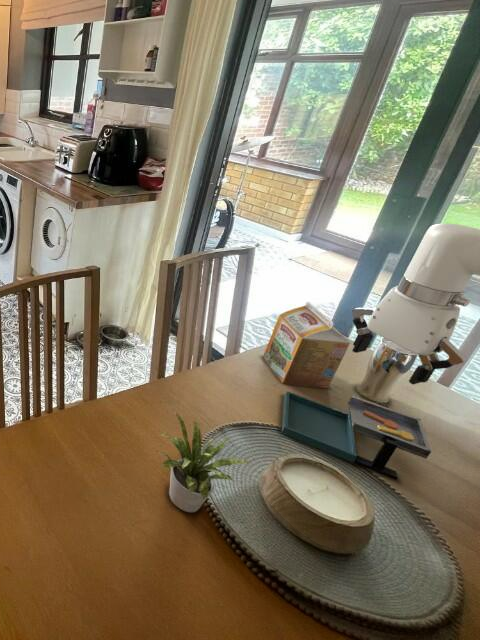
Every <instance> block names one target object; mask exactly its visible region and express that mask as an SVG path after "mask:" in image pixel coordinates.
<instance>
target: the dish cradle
mask: <svg viewBox="0 0 480 640" xmlns="http://www.w3.org/2000/svg"><path fill="white" fill-rule="evenodd" d="M377 404H378V405H381V406H384V407H386V408H389V405H387V404H386V403H379V402H377ZM389 409H390V408H389ZM382 443H383V442H382ZM397 447H398V444H397V442H394V441H391V440H389V439H386V440H385V442H384V443H383V444H382V445H381V447H380V448H379V450H378V451H377V453H376V455H375V456H374V458H373V460H370V459H367V458H365V457H362V456H360V455H357V457H356V459H355V463H356V465H358V466H361V467H362V468H365V469H368V470H371V471H372V472H375V473H377V474H380V475H382V476H385V477H387V478H389V479H392V480H395V481H397V480H398V478H399V476H398V472H397V470H395V469H392V468H390V467H387V466H386V465H387V464H388V462H389V460H390V459H391V457H392V456H393V454H394V453H395V451H396V450H397V449H398V448H397Z"/></svg>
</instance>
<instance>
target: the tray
mask: <svg viewBox="0 0 480 640" xmlns="http://www.w3.org/2000/svg"><path fill="white" fill-rule="evenodd" d="M282 407H283V409H282V423H281V435H282V434H283V435H285V436H287V437H290V438H292V439H295V440H297V441H299V442H302V443H303V444H306V445H309V446H312V447H314V448H316V449H318V450H321V451H324V452H326V453H329V454H331V455H333V456H336V457H338V458H340V459H343V460H345V461H348V462H350V463H352V464H353V463H355V462H356V457H357V456H358V455H357V447H356V440H355V431H352V428H351V420H350V412H346V411H343V410H340V409H338V408H335V407H332V406H330V405H326V404H324V403H321V402H318V401H316V400H313V399H310V398H308V397H305V396H302V395H299V394H296V393H294V392H291V391H288V390H286V392H285V394H284V396H283V405H282Z"/></svg>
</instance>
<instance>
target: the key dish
mask: <svg viewBox="0 0 480 640" xmlns="http://www.w3.org/2000/svg"><path fill="white" fill-rule="evenodd" d="M347 404H348V405H347V406H348V413H349V414H350V420H351V428H352V431H354V433H357V434H360V435H362V436H365V437H368V438H371V439H373V440H377V441H378V442H381V443H384V442H385V440H386V439H389V440H391V441H394V442H397V444H398V447H397V448H396V449H399V450H401V451H405V452H407V453H410V454H413V455H415V456H418V457H419V458H423V459H425V460H427V459H428V457H429V456H430V454H431V453H432V449H431V446H430V443H429V440H428V436H427V434H426V431H425V428H424V425H423V422H422V419H421V418H418V417H415V416H412V415H409V414H406V413H403V412H401V411H398V410H395V409H392V408H386V407H384V406H381V405H378V403H376V402H373V401H370V400H366V399H363V398H360V397H357V396H355V395H351V396H350V398H349V400H348V402H347ZM365 410H366V411H369V412H371V413H373V414H375V415H377V416H379V417H381V418H384V419H386V420H391V421H393V422H395V423H396V424H397V425H398V426H399V427H398V429H394V430H397V431H401V430H402V431H406V432H408V433H410V434H411V435H413V437H414V439H413V440H412V441H410V440H406V439H404V438H402V437H401V436H398V435H395V434H391V433H388V432H384V431H381V430H379V429H378V427H377V426H378V425H380V426H383V427H387V428H390V427H388V426H386V425H385V424H384V423H382V422H380V421H378V420H376V419H374V418H372V417H370V416H368V415H365V414H363V413H364V411H365ZM390 429H392V428H390Z"/></svg>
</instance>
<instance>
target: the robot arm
mask: <svg viewBox="0 0 480 640" xmlns="http://www.w3.org/2000/svg"><path fill="white" fill-rule="evenodd" d="M473 275H476V276H479V277H480V229H479V228H477V227H472V226H467V225H463V224H457V223H448V222H447V223H445V222H444V223H437V224H433V225H431V226H430V227H429V228H428V229H427V230H426V232H425V233H424V236H423V237H422V239H421V241H420V243H419V245H418V246H417V248H416V251H415V252H414V255H413V257H412V259H411V260H410V262H409V264H408V266H407V267H406V270H405V271H404V274H403V275H402V278H401V279H400V281H399V283H398V285H396V286H393V287H392V288H391V289H390V290H389V291H388V292H387V293H386V294H385V296H384V297H383V298H382V299H381V300H380V301H379V303H378V304H377V306H376V307H375V308H370V307H355V308H353V309H351V313H352V318H353V319H352V323H353V324H354V326H355V333H356V334H357V335H356V337H355V340H354V342H353V344H352V346H353V348H352V350H351V351H352V352H353V353H356V354H357V353H362V352H366V351H367V349H368V347H369V346H370V344H371V342H372V340H373V338H374V334H375V335H377V336H379V337H381V338H385V339H387V340H389V341H391V342H393V343H395V344H397V345H399V346H401V347H403V348H405V349H407V350H409V351H411V352H413V353H416V354H418V358H419V360H420V362H421V365H417V366H416V368H415V369H414V372H413V373H412V375H411V376H410V378H409V380H408V382H409V384H411V385H413V386H414V385H417V384H422V383H423V384H424V383H427V382H428V381H429V380H430V378H431V377H432V375H433V373H434V372H435V370H440V369H441V370H443V369H449V368H453V367H455V366H457V365H461V364H463V363H465V362H467V361H468V358H467V357H466V355H464V353H463V352H461V351H460V349H458V348H457V347H456V346H455V345H454V344H453V343H452V342H451V340H450V339H451V337H452V335H453V333H454V331H455V328H456V326H457V323H458V320H459V317H460V313H461V307H460V306H462V307H467V306H469V305H470V303H471V300H470V299H468V298H466V297H465V296H464V294H465V291H464V290H465V289H466V287H467V286H468V284H469V283H470V281H471V280H472V279H471V278H472V277H473ZM365 316H369V319H368V321H366V320H365ZM442 352H444V353H445V354H446V355H447V356H448V358H447V359H443V360H441V359H440V357H439V355H438V354H439V353H442Z"/></svg>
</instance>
